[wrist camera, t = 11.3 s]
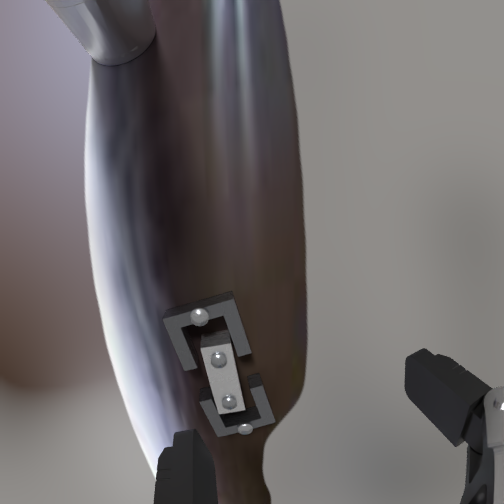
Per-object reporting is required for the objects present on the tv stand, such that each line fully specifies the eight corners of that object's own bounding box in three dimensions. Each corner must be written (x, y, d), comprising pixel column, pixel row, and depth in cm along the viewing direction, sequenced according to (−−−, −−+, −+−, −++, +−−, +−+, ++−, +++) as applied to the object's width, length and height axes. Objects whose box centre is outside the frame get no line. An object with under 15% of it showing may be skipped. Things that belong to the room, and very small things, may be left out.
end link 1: (165, 307, 34) (160, 319, 30) (231, 288, 34) (233, 298, 31) (186, 358, 35) (184, 373, 31) (248, 341, 36) (252, 355, 32)
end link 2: (271, 410, 38) (276, 426, 34) (217, 424, 37) (218, 441, 34) (258, 372, 37) (263, 388, 33) (199, 388, 36) (199, 404, 32)
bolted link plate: (201, 333, 35) (200, 350, 30) (228, 328, 35) (231, 345, 31) (217, 396, 37) (218, 416, 32) (242, 392, 37) (245, 412, 33)
